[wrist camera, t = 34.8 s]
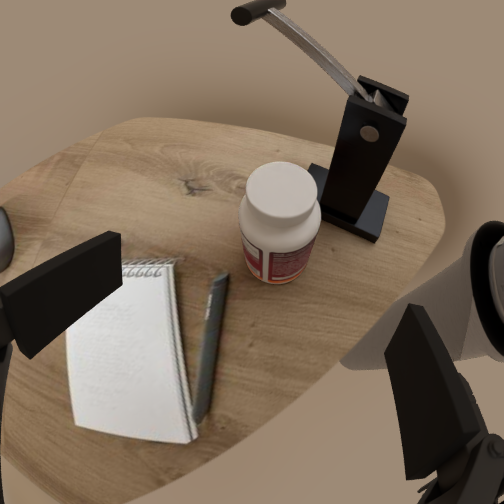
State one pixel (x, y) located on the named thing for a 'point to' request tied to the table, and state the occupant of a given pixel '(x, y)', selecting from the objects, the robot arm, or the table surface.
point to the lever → (304, 45)
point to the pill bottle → (279, 221)
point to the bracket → (361, 162)
